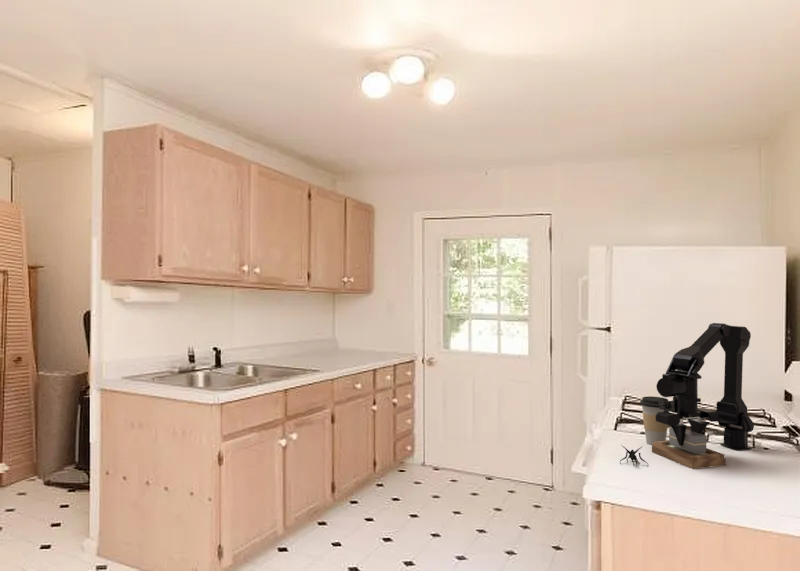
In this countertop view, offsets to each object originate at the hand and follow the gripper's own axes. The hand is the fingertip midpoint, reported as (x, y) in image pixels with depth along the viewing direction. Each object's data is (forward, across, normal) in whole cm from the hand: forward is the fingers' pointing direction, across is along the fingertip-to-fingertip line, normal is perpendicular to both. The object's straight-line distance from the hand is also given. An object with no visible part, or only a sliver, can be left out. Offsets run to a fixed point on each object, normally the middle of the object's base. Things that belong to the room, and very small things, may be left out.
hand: (687, 444), depth 166 cm
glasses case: (+1, 0, 0) cm, 1 cm away
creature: (+4, +20, 0) cm, 20 cm away
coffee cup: (+4, -2, -16) cm, 17 cm away
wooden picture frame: (+4, 0, 0) cm, 4 cm away
